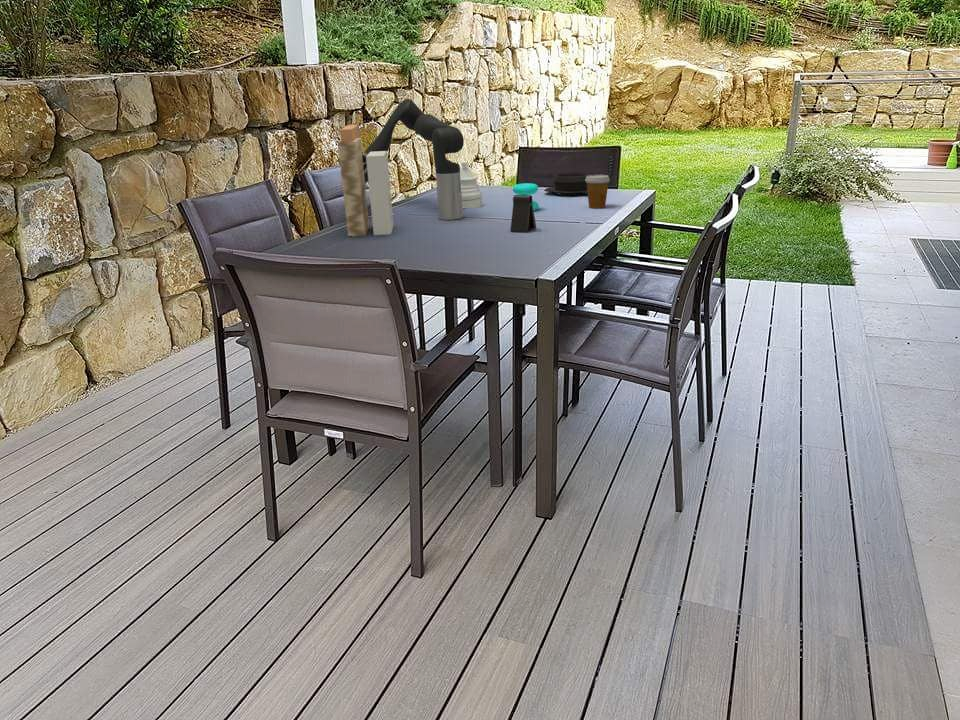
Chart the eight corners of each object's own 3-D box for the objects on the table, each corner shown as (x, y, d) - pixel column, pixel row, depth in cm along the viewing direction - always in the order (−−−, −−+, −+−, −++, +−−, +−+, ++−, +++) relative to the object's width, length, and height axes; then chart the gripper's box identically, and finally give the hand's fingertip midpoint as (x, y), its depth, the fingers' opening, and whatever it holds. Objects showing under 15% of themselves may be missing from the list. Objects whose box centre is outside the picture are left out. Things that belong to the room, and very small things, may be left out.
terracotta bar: (360, 135, 274) (358, 124, 273) (352, 141, 252) (351, 129, 250) (349, 136, 274) (347, 125, 272) (341, 142, 252) (339, 129, 250)
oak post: (369, 226, 277) (360, 137, 266) (365, 235, 262) (355, 141, 251) (353, 227, 277) (343, 138, 266) (348, 236, 262) (337, 142, 251)
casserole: (605, 191, 331) (605, 171, 328) (594, 198, 315) (594, 177, 312) (551, 190, 340) (551, 171, 337) (538, 196, 325) (537, 177, 322)
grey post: (393, 225, 278) (386, 150, 268) (390, 234, 263) (383, 155, 253) (377, 226, 277) (370, 151, 268) (373, 235, 263) (366, 156, 253)
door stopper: (526, 233, 254) (525, 197, 250) (510, 232, 257) (509, 197, 253) (536, 227, 262) (535, 193, 258) (520, 227, 264) (519, 192, 260)
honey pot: (481, 208, 304) (479, 163, 297) (450, 209, 304) (447, 164, 298) (482, 203, 316) (480, 159, 309) (452, 204, 316) (449, 160, 310)
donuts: (540, 182, 295) (535, 186, 286) (540, 208, 298) (536, 212, 289) (515, 182, 297) (510, 186, 288) (516, 208, 301) (511, 212, 292)
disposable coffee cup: (608, 204, 298) (609, 174, 294) (610, 209, 289) (610, 177, 285) (584, 205, 299) (584, 175, 295) (585, 209, 290) (585, 178, 286)
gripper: (378, 170, 296) (378, 162, 280) (342, 176, 294) (340, 169, 278) (373, 151, 295) (373, 142, 279) (338, 157, 294) (336, 149, 278)
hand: (357, 156), depth 279 cm, fingers open, 8 cm apart
